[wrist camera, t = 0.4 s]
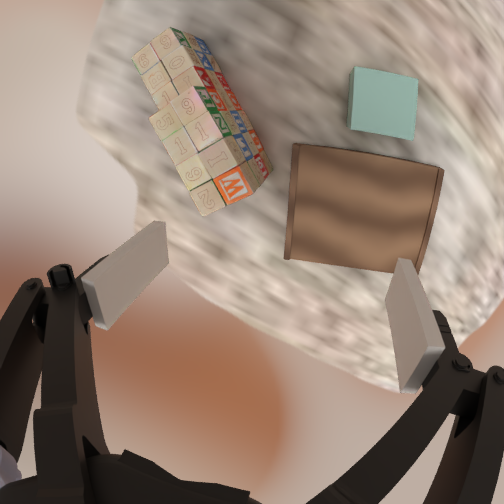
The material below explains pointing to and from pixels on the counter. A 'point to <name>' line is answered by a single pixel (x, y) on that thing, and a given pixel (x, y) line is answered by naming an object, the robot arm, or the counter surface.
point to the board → (359, 208)
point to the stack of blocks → (201, 121)
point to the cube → (382, 103)
